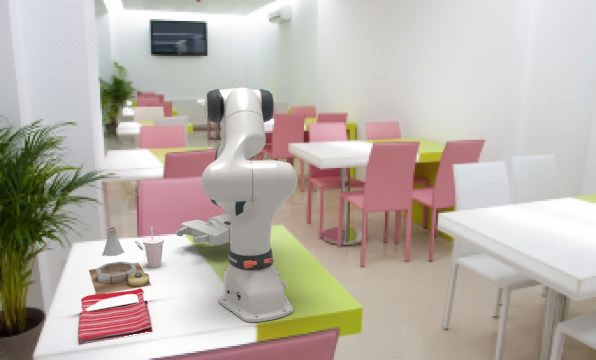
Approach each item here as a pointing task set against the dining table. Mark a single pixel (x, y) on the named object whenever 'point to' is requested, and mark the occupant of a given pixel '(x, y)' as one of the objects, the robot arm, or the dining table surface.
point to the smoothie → (153, 250)
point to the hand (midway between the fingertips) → (185, 237)
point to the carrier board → (133, 282)
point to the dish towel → (113, 318)
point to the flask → (112, 243)
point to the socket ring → (113, 267)
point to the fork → (139, 244)
